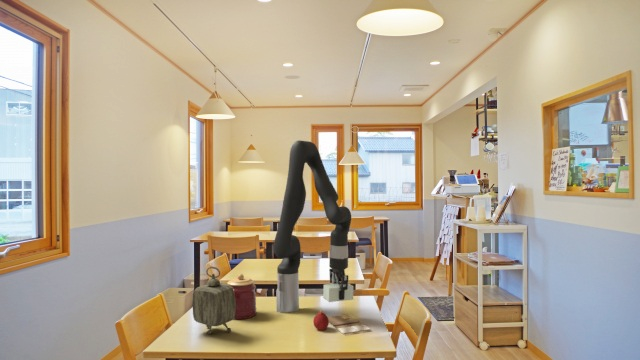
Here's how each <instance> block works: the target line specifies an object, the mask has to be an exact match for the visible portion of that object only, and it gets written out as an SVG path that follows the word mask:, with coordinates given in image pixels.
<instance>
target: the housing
mask: <svg viewBox="0 0 640 360" xmlns="http://www.w3.org/2000/svg"><path fill="white" fill-rule="evenodd" d="M322 292H323V293H322V294H323V297H322V298H323V300H326V301H327V302H328V303H334V302H344V301H345V302H346V301H352V300H354V286H353V285H352V284H350V283H349V282H348V289H347V290H345V296H344V300H339V287H338V285H337V283H335V284H332V283H328V284H327V283H326V284H323V291H322Z"/></svg>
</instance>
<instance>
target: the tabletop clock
mask: <svg viewBox="0 0 640 360" xmlns="http://www.w3.org/2000/svg"><path fill="white" fill-rule="evenodd" d="M211 269H212V270H213V269H214V270H216V271H217V272H218V275H216V274H215V273H212V274H211V275H210V274H209V273H208V271H209V270H211ZM205 271H206V275H207V277H210V278H209V279H208V280H207V281H206V284H205V285H201V286H198V287H196V288H195V289H194V290H193V293H192V317H193V321H195V322H196V323H199V324H201V325H205V326H206V327H207V328H208V330H207V334H208V335H211V334H212V333H213V330H212V327H219V326H221V325H222V326H224V327H225V328H226V332H227V333H231V331H232V328H230V327H228V325H227V323H229V322H231V321H233V320H235V319H234V316H235V293H234V289H233V287H231V286H230V285H228V284H227V283H222V282H221V281H220V280H219V279H218V278H219V277H220V275H221V271H220V270H219V268H217V267H216V266H209V267H207V269H206V270H205Z"/></svg>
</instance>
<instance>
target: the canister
mask: <svg viewBox="0 0 640 360" xmlns="http://www.w3.org/2000/svg"><path fill="white" fill-rule="evenodd" d="M254 283H255V280H254V279H252V278H250V277H247V276H244V274H243V273H239V274H238V275H237V277H233V278H231V279H230V280H228V282H226V284H227V285H230V286H231V287H233V289H234V293H235V316H234V319H233V320H244V319H249V318H253V317H254V316H256V314H257V299H256V298H257V293H256V288H257V286H256V285H255V284H254Z"/></svg>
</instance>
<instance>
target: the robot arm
mask: <svg viewBox="0 0 640 360" xmlns="http://www.w3.org/2000/svg"><path fill="white" fill-rule="evenodd" d="M321 157H322V156H321V154H320V151H319V148H318V147H317V146H316V144H315V143H314V142H312V141H308V140H300V139H299V140H296V141H294V142H293V143H292V144H291V147H290V151H289V158H288V159H289V160H288V171H287V178H286V186H285V191H284V195H283V200H282V208H281V213H280V217H279V223H278V228H277V230H276V234H275V236H274V241H273V253H274V255H275V256H276V257H277V258H279V259H282V260H281V262H280V263H279V264H278V265H277V271H276V273H277V276H276V277H277V289H275V292H276V295H275V296H276V298H275V299H276V312H277V313H278V312H279V313H280V314H281V313H282V314H283V313H286V314H287V313H288V314H290V313H296V312H298V311H299V310H300V298H299V296H300V295H299V294H300V292H299V291H300V290H299V289H300V287H299V283H300V282H299V281H300V278H299V267H300V264H301V251H302V250H301V242H300V240H299V238H298V237H297V236H296V235H293V231H294V228H295V226H296V223H297V222H298V220H299V219H300V217H301V215H302V213H303V211H304V208H305V204H306V198H307V189H306V186H305V185H306V184H305V181H304V169H305V164H306V165H308V167H309V169H310V170H311V173H312V176H313V181H314V183H313V184H314V188H315V190H316V192H317V195H318V196H319V198H320V200H321V202H322V204H323V205H322V206H323V210H324V212H325V215H326V219H327V220H328V222H329V223H330V224H332V225H335V228H334V229H333V230H331V232H330V239H329V241H330V245H329V265H328V266H329V284H335V283H337V285H338V287H339V300H344V296H345V290H347V289H348V283H349V274H346V272H345V271H346V269H348V268H349V247H348V246H349V244H348V243H349V242H348V241H349V239H348V238H349V236H348V235H349V232H350V228H351V224H352V212H351V210H350V209H349V208H348V207H347V206H339V204H338V200H339V194H338V193H337V191H336V188H335V187H334V185H333V183H332V181H331V180H330V178H329V175H328V173H327V170H326V168H325V166H324V163H323V160H322V158H321Z"/></svg>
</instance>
